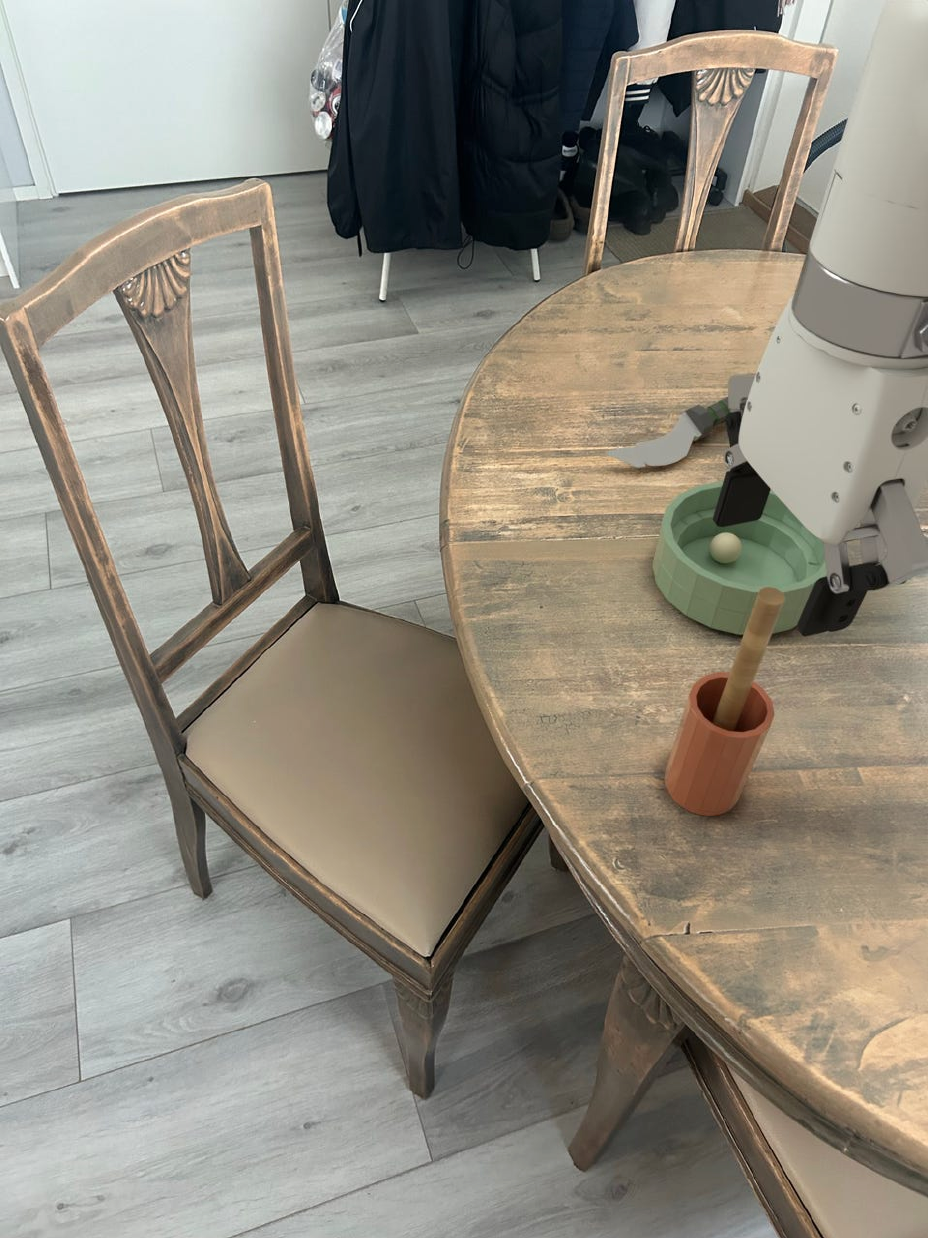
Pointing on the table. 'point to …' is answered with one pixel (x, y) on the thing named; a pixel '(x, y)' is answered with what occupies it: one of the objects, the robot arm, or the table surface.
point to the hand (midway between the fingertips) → (776, 571)
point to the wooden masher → (749, 657)
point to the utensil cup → (715, 748)
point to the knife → (675, 437)
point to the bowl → (729, 590)
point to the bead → (725, 547)
